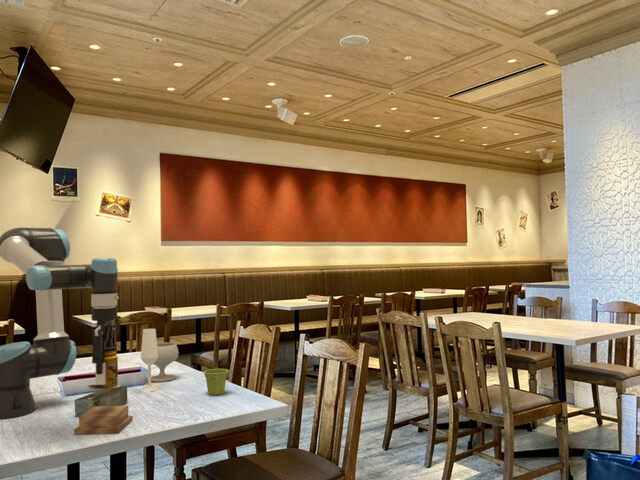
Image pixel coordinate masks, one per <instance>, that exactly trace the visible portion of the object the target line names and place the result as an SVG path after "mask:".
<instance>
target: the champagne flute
mask: <svg viewBox="0 0 640 480" xmlns="http://www.w3.org/2000/svg"><path fill="white" fill-rule="evenodd" d="M141 337H142V340H141V348H140V360H141V361H142V362H143V363H144V364H145V365H146V366H147V385H146V386H144V387H143V388H142V389H140V391H141V392H146V393H149V392H155V391H158V390H159V388H158V387H156V386H154V385H152V381H151V377H152V365H154V364H153V363H154V362H155V361H156V360H157V358H158V349H157V343H158V341H157V330H156V328H143V329H142V336H141Z"/></svg>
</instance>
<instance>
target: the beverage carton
mask: <svg viewBox="0 0 640 480" xmlns="http://www.w3.org/2000/svg"><path fill="white" fill-rule="evenodd" d="M120 386H121V385H120ZM127 403H128V386H125V385H124V386H121V387H115V388H108V389H98V390H95V391H94V392H92V393H88V394H86V395H84V396H82V397H79V398H75V399H74V414H75V415H74V416H76V417H77V418H79V416H81V415H82V414H84V413H85V412H86V411H88V410H89V409H91V408H92V407H94V406H124V405H125V404H127Z"/></svg>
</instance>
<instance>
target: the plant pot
mask: <svg viewBox="0 0 640 480" xmlns="http://www.w3.org/2000/svg"><path fill="white" fill-rule="evenodd" d="M228 372H229V370H228V369H226V368H213V369H207V370H204V371H203V375H204V377H205V381H206V388H207V394H208V395H210V396H218V395H223V394H225V390H226V381H227V376H228Z"/></svg>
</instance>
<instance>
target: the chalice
mask: <svg viewBox="0 0 640 480" xmlns="http://www.w3.org/2000/svg"><path fill="white" fill-rule="evenodd" d="M157 349H158V358H157V360H156V361H155V362H154V363H153V364H152V365H154V366H156V367H157V368H158V370H159V373H158V375H151V382H167V381H172V380H175V379H177V378H178V377H177V375H175V374H167V373H165V369H166V368H167V367H168V366H169V365H170V364H172V363H174V362H175V361H176V360H177V359H178V358H179V353H180V352H179V348H178V345H177V344H176V342H157Z"/></svg>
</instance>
